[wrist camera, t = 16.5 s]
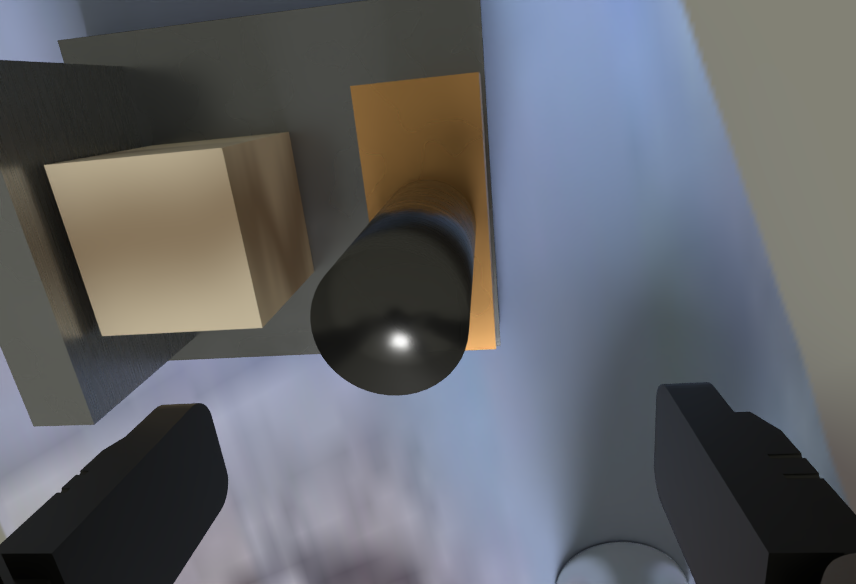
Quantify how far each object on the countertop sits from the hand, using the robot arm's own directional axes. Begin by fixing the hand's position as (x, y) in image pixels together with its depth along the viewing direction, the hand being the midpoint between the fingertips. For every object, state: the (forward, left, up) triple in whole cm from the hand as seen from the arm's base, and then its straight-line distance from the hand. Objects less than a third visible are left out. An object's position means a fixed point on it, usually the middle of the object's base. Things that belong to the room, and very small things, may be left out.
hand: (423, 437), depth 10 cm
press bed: (+3, +6, -12) cm, 13 cm away
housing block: (+2, +8, -10) cm, 13 cm away
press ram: (+3, 0, -10) cm, 11 cm away
